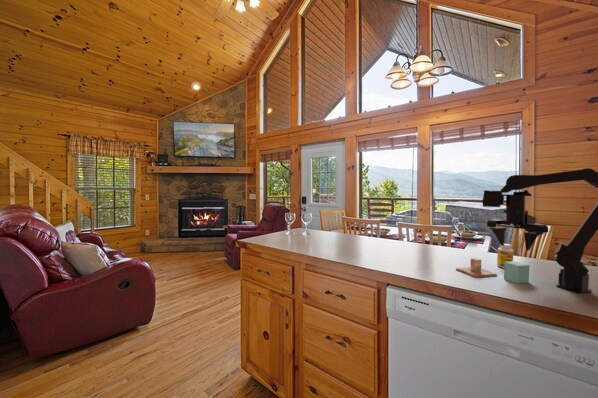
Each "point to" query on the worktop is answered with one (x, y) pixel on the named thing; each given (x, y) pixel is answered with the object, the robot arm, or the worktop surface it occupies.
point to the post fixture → (476, 269)
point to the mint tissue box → (516, 272)
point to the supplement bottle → (504, 255)
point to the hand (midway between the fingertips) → (514, 247)
